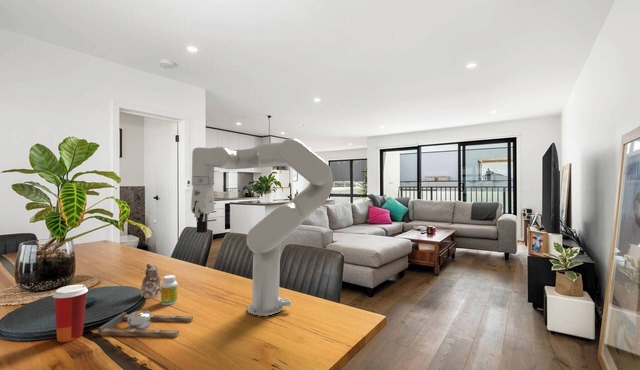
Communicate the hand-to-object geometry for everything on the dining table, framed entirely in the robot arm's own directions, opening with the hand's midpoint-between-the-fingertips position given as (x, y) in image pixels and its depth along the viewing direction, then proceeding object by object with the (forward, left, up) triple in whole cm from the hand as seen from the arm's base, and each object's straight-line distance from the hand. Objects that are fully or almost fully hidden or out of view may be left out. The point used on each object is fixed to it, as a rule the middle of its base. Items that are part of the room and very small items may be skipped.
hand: (201, 232), depth 107 cm
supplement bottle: (+13, -3, -27) cm, 30 cm away
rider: (+12, +16, -27) cm, 34 cm away
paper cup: (+28, +23, -27) cm, 45 cm away
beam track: (+9, +16, -27) cm, 33 cm away
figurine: (+24, -10, -27) cm, 38 cm away
